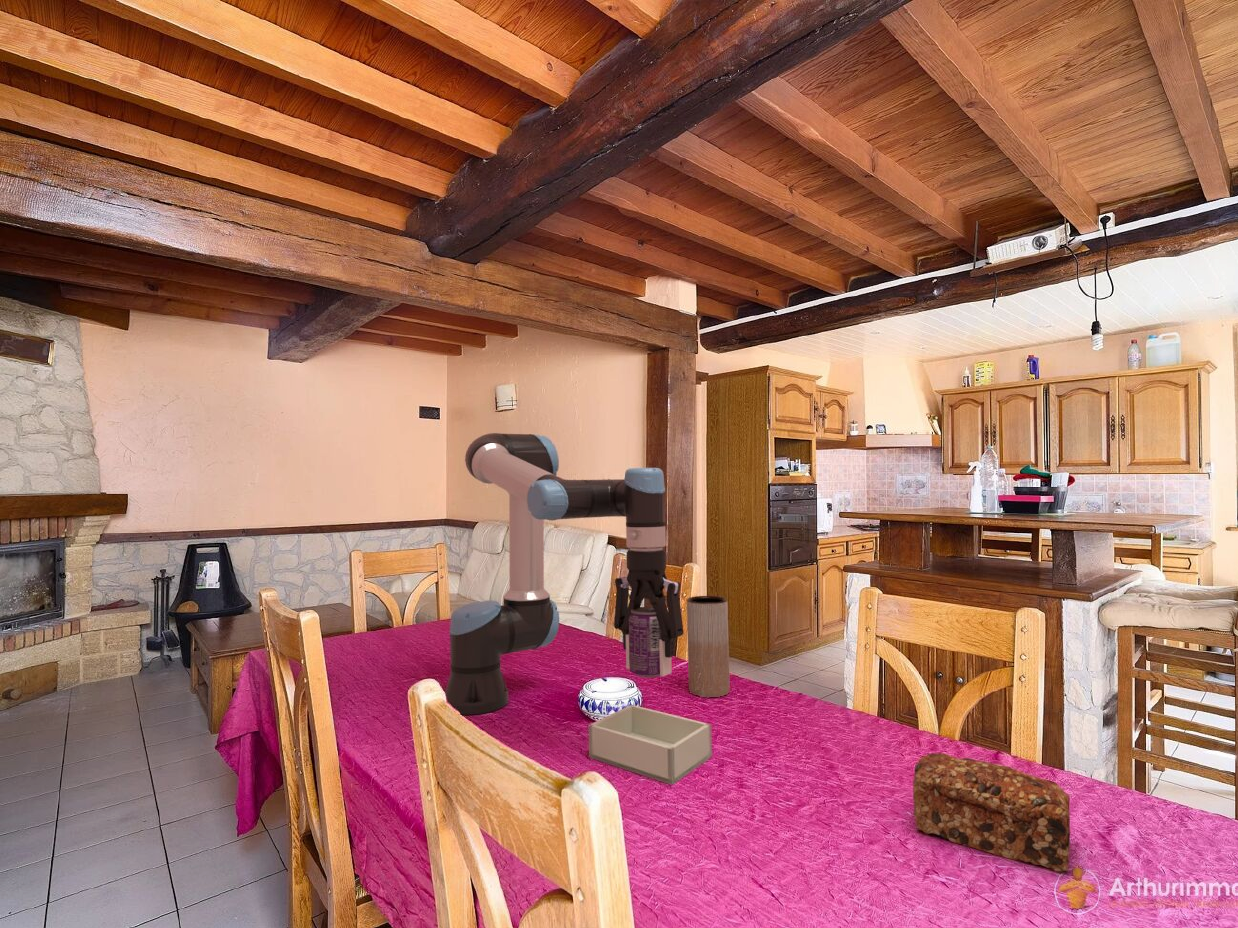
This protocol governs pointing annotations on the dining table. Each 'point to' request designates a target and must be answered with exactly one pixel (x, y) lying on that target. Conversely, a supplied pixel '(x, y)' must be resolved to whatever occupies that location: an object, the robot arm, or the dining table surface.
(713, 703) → the dining table surface
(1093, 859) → the dining table surface
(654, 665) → the beverage can
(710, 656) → the planter
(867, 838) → the dining table surface
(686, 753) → the tub
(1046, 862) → the bread
